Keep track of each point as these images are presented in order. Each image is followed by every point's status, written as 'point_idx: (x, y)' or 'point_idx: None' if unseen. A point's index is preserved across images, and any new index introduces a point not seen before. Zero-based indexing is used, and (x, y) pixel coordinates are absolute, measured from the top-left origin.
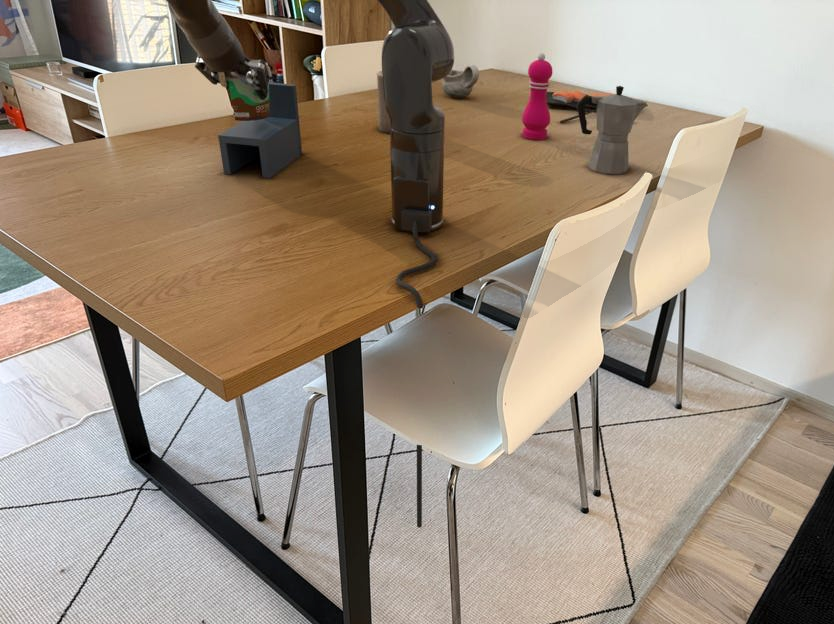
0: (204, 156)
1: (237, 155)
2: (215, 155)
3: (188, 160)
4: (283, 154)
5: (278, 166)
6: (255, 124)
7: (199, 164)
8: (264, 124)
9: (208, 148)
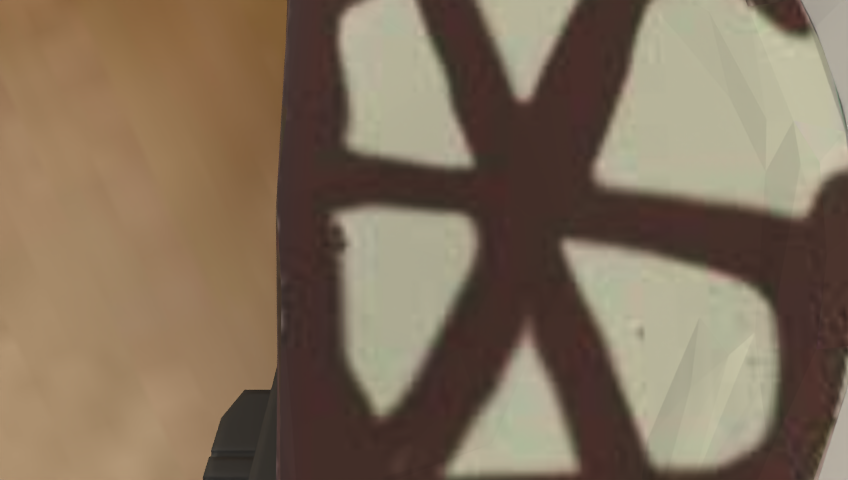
0: (67, 277)
1: None
2: (123, 236)
3: (9, 385)
4: None
5: None
6: None
7: (108, 439)
8: None
9: (22, 119)
